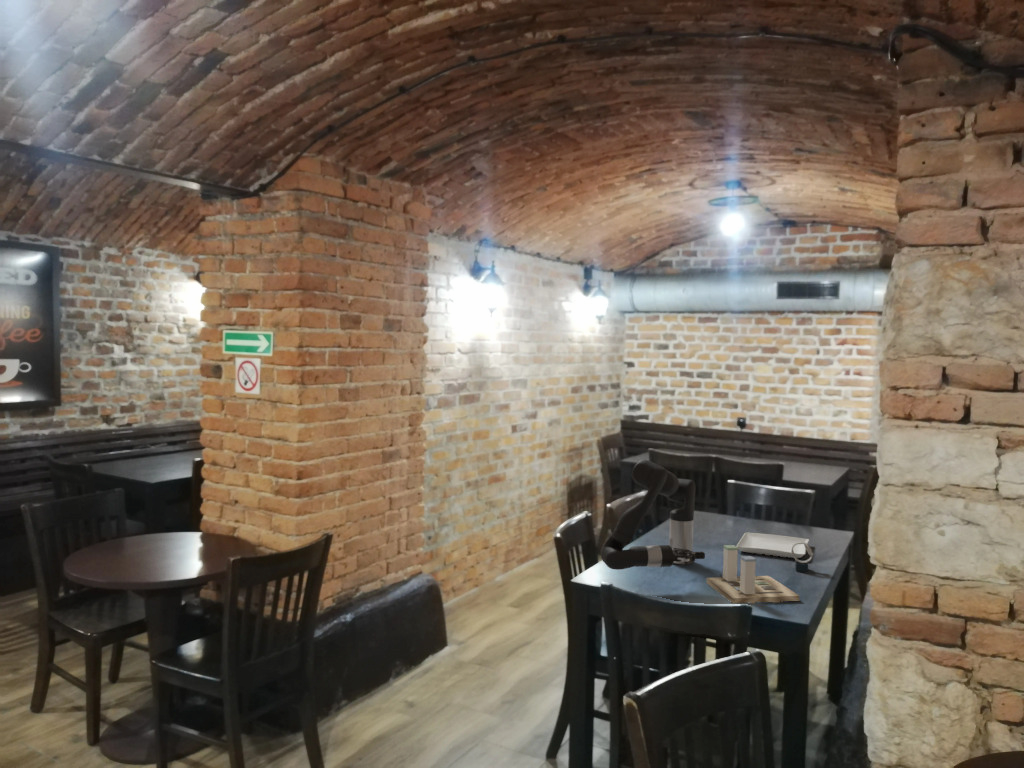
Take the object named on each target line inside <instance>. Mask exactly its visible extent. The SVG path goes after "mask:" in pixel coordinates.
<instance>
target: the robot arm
mask: <svg viewBox="0 0 1024 768" xmlns="http://www.w3.org/2000/svg"><path fill="white" fill-rule="evenodd" d="M631 477H632V480H633V482H634V483H636V484H637V485H639V486H640V487H643V488H645V489H647V492H646V494H645V496H644V497H643V498H641V500H640V501H638V502H637V503H636V504H634V505H633V506H631V507H630V508H628V509H626V510H625V511H624V512H623V513H622V514H621V515H620V517H619V519H618V521H617V524H616V525H615V527H614V529H613V532H612V533H611V535H610V536H609V537H608V539H607V540H606V542H605V543H604V545H603V546H602V549H601V552H600V557H601V561H602V562H603V563H604V564H605V565H606V566H607V567H608V568H609V569H611V570H617V571H618V570H625V569H630V568H633V567H636V568H637V567H649V568H664V567H666V568H667V567H668V568H669V567H672V566H673V564H676V565H689V564H692V563H694V562H695V561H696V560H704V559H705V557H706V553H705V552H703V551H693V545H694V519H695V518H694V517H695V514H694V513H695V503H696V502H695V501H696V500H695V499H696V483H695V481H694V480H693V479H687V478H677V475H675V474H674V473H673V472H671V471H669V470H667V469H666V468H665V467H663V466H661V465H658V464H657V463H655V462H653V461H651V460H649V459H641V460H639V461H637V463H635V465H634V467H633V468H632V472H631ZM658 495H661V496H664V497H665V498H667V499H668V500H669V501H672V502H677V503H684V505H683V506H682V507H680V508H676V509H672V510H671V511H670V512H669V533H668V534H669V538H668V544H659V545H657V544H655V545H653V544H652V545H650V544H649V545H641V546H639V545H636V546H631V547H629V548H628V549H624V548H625V546H626V545H629V544H630V543H632V541H633V538H634V537H635V534H636V533H637V531H638V528H639V526H640V524H641V522H642V520H643V519H644V517H645V516H646V514H647V512H649V510H650V508H651V506H652V505H653V504H654V502H655V500H656V499H657V496H658Z"/></svg>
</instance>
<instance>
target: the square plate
mask: <svg viewBox="0 0 1024 768" xmlns="http://www.w3.org/2000/svg"><path fill="white" fill-rule="evenodd" d="M800 541H802V542H805V543H808V544H809V542H810V539H809V538H801V537H795V536H789V535H788V536H787V535H779V534H771V533H770V534H769V533H757V532H744V534H743V535H742V537H741V538H740V540H739V541H738V543H737V544H736V545H735V546H736V547H737V548H738V550H739V551H740V552H745V553H749V554H754V553H756V554H755V555H762V554H765V555H764V556H770V555H773V556H772V557H778V556H780V557H779V558H786V557H788V558H787V559H794V557H793V555H792V551H791V550H792V546H793V544H795V543H796V542H800ZM793 551H794V554H795V556H796V557H797V559H800V558H803V556H805V555H806V553H807V550H806V548H805V546H804V544H797V545H795V546H794V548H793Z"/></svg>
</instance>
